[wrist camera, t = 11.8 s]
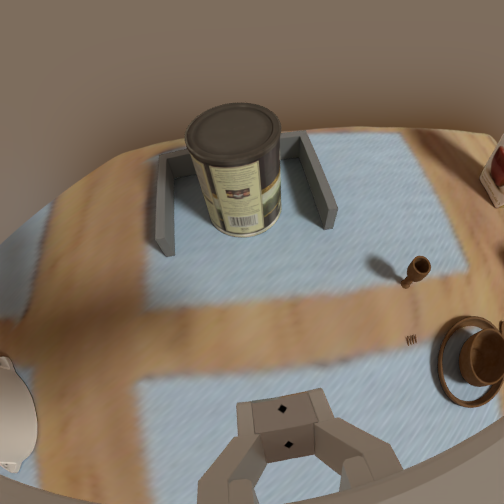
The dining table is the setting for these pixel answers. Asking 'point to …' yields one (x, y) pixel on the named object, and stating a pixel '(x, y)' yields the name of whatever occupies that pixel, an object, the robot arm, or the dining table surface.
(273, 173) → the coffee can
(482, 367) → the place setting
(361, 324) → the dining table surface
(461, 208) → the dining table surface
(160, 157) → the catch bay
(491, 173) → the juice carton
